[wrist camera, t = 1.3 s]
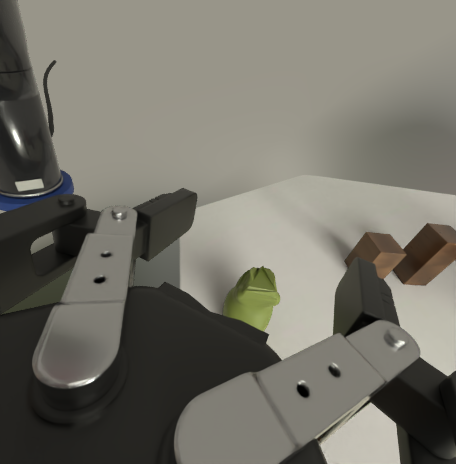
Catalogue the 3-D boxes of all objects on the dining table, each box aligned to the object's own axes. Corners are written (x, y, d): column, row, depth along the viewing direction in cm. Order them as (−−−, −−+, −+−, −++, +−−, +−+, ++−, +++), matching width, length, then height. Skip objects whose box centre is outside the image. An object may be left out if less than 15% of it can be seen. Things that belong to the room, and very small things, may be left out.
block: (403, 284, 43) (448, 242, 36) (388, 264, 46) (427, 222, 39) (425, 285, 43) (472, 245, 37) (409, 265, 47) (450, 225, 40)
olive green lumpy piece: (261, 310, 33) (286, 260, 27) (263, 350, 29) (294, 302, 23) (220, 303, 33) (236, 251, 26) (216, 343, 29) (235, 293, 22)
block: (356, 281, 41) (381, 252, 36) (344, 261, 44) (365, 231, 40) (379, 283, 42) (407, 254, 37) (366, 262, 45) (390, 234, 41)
